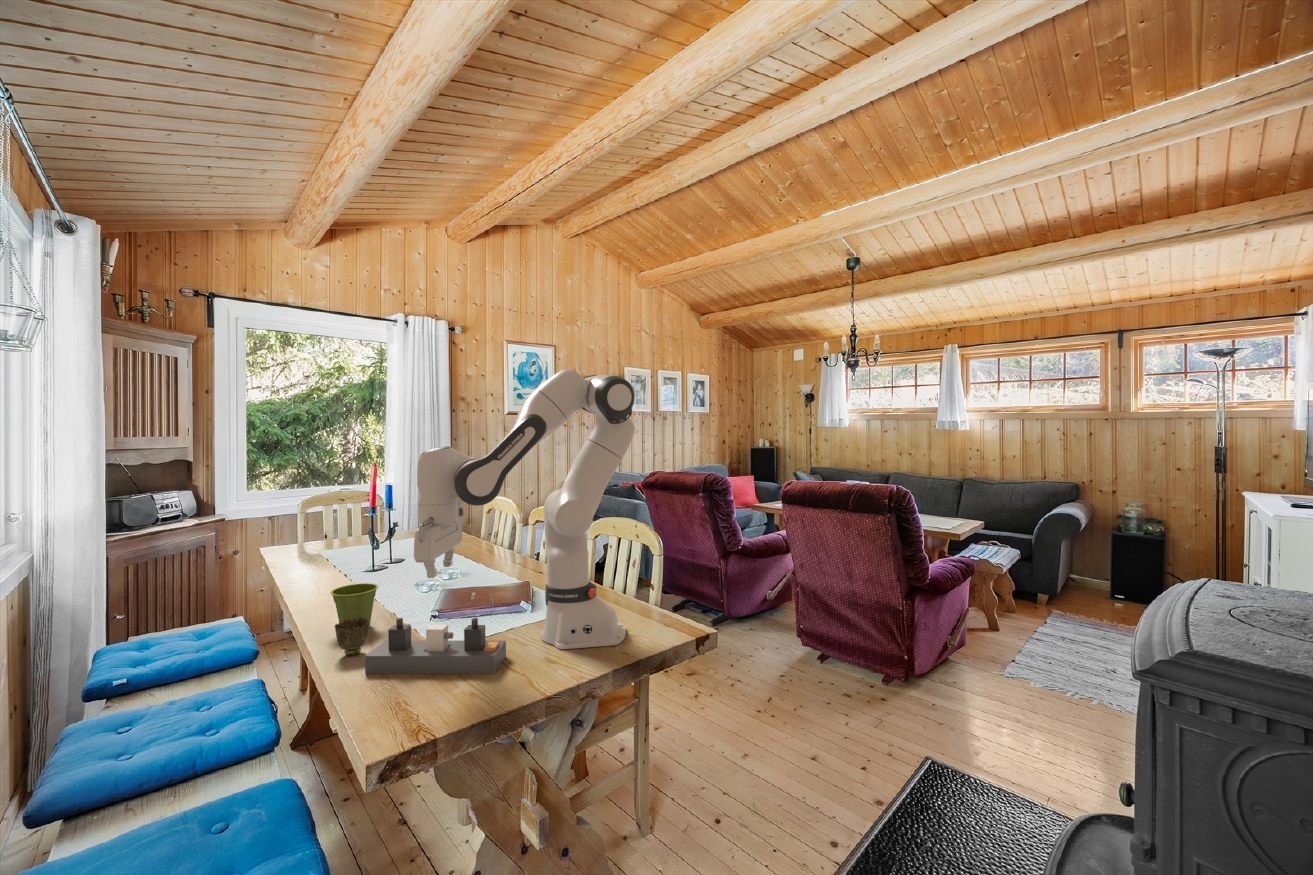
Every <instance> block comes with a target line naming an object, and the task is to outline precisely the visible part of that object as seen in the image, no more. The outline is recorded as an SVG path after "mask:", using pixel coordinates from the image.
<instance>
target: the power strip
mask: <svg viewBox="0 0 1313 875" xmlns="http://www.w3.org/2000/svg"><path fill="white" fill-rule="evenodd" d="M478 618H479V617H473V618H471V624H468V625H467V626H466V627H465V628H464V630H463V637H464V638H463V640H448V649H447V650H446V651H445V652H426V640H412V624H404V620H403V619H404V618H403V617H398V618H396V619H395V620H396V622H395V623H396V624H394V625H392V626H391V627H390V628H388V629H387V632H388V634H387V635H388V636H387V640H384V641H383V642H381V643H380V644H378V645H376V647H375V648H373V649H372V650H370V651H369V652H368V653H366V655H364V669H365V670H364V673H365V674H496V672H497V670H498V669H499V668H500V667H501V665H502V663H503V662H504V660H505V659H506V658H507V641H506V640H486V624H479V622H478V621H479V619H478Z"/></svg>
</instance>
